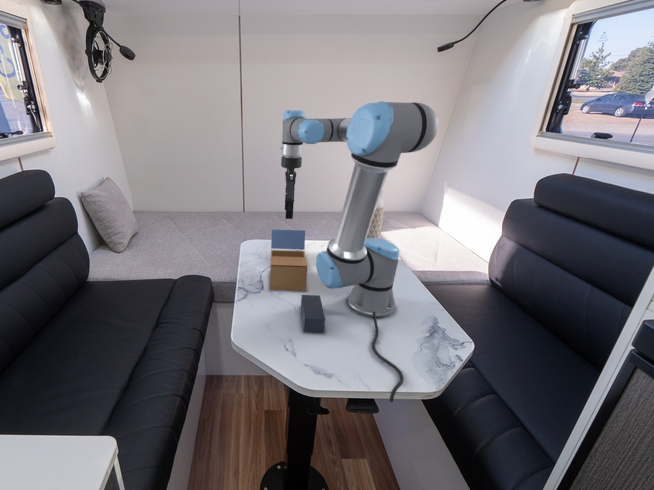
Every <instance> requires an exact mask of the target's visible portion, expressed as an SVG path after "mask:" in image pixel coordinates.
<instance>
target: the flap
mask: <svg viewBox="0 0 654 490" xmlns="http://www.w3.org/2000/svg"><path fill="white" fill-rule="evenodd" d="M305 243H306V230H303V229H301V230H300V229H271V243H270V244H271V245H270V249H271V250H302V251H305V245H306V244H305Z"/></svg>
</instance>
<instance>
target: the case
mask: <svg viewBox="0 0 654 490" xmlns="http://www.w3.org/2000/svg"><path fill="white" fill-rule="evenodd" d="M300 315H301V323H302V329H303V330H302V331H303V333H315V334H318V333H319V334H324V332H325V323H326V317H325V311H324V307H323V303H322V298H321V295H320V294H319V295H317V294H301V299H300Z"/></svg>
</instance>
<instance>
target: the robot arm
mask: <svg viewBox="0 0 654 490" xmlns="http://www.w3.org/2000/svg"><path fill="white" fill-rule="evenodd" d="M305 114H306V113H305V111H304V110H294V109H291V110H285V111H284V112H283V118H282V138H281V141H282V142H281V146H280V147H279V149H280V150H281V155H282V156H281V160H280V166H281V167H282V168H284V169H286V170H285V173H284V175H285V176H284V177H285V188H284V189H285V192H284V193H285V195H284V196H285V197H284V211H285V220H293V219H294V202H295V185H296V180H297V172H296V171H295V170H296V169H300V168H301V167H302V165H303V164H302V162H303V161H302V160H303V158H302V156H303V150H304V144H306V145H316V144H318V143H346V145H347V148H348V150H349V151H350V157H351V159H352V161H353V163H354V166H353V169H352V172H351V177H350V181H349V185H348V188H347V191H346V195H345V199H344V203H343V206H342V211H341V215H340V218H339V221H338V225H337V229H336V234H335V237H334V238H331V239H330V240H329V241H328V243H327V247H326V250H325V251H324V250H323V251H321V252H319V253H318V254H317V255H316V258H315V267H316V271H317V275H318V278H319V280H320V281H321V283H322V284H323V286H325V287H326V288H328V289H342V288H345V287H351V286H353V287H352V289H351V291H350V293H349V294H348V299H347V305H348V307H349V309H351V310H352V311H353V312H355V313H357V314H359V315H362V316H365V317H370V318H373V323H374V327H375V334H374V338H373V340H372V344H371V347H372V351H373V353H374V354H375V355H376V357H377V358H379V359H380V360H381V361H382V362H384V363H385V364H387V365H388V366H390V367H391V368H393V370H395V371H396V372H397V374H398V375H399V380H398V382H397V384H396V385H394V387H393V388H392V391H391V393H390V395H389V402H390V403H393V402H394V399H395V395H396V392H397V391H398V389H400V387H401V386H402V385H403V383H404V381H405V377H404V375H403V373H402V370H400V368H399V367H398V366H396V365H395V364H394V363H393V362H391V361H389V360H388V359H386V358H385V357H383V356H382V355H381V354H380V353H379V352H378V350H377V348H376V343H377V341H378V338H379V326H378V320H377V318H385V317H388V316H390V315H392V314H393V313H394V311H395V306H396V305H395V304H396V301H395V296H394V290H393V288H394V287H393V286H394V283H395V277H396V274H397V273H396V272H397V268H398V264H399V259H400V258H399V255H400V249H399V247H398V246H397V245H396V244H394V243H393V242H391V241H388V240H384V239H381V238H380V239H375V238H366V237H367V234H368V231H369V228H370V225H371V222H372V219H373V216H374V213H375V210H376V207H377V204H378V201H379V198H380V195H381V192H382V189H383V190H384V186H385V182H386V179H387V176H388V173H389V171H390V170H392V169H394V168H396V167H397V166H398V163H399V160H400V157H401V154H409V153H416V152H418V151H421V150H423V149H426V147H428V146H429V145H430V144H431V143H432V142H433V141H434V140H435V138H436V136H437V133H438V130H439V119H438V115H437V113H436V111H435V110H434V109H433V108H432V107H430V106H429V105H427V104H426V103H422V102H399V101H398V102H396V101H383V100H381V101H377V102H369V103H365V104H363V105H362V106H360V107H359V108H357V110H356V111H355V112H354V113H353V114H352V115H351V117H341V118H338V117H337V118H306V115H305ZM382 193H383V192H382Z"/></svg>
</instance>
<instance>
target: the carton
mask: <svg viewBox="0 0 654 490" xmlns="http://www.w3.org/2000/svg"><path fill="white" fill-rule="evenodd" d="M269 265H270V266H269V267H270V268H269V270H270V271H269V290H270V291H290V292H291V291H292V292H306V289H307V280H308V279H307V278H308V260H307V257H306V252H305V250H286V249H271V250H270V264H269Z"/></svg>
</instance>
